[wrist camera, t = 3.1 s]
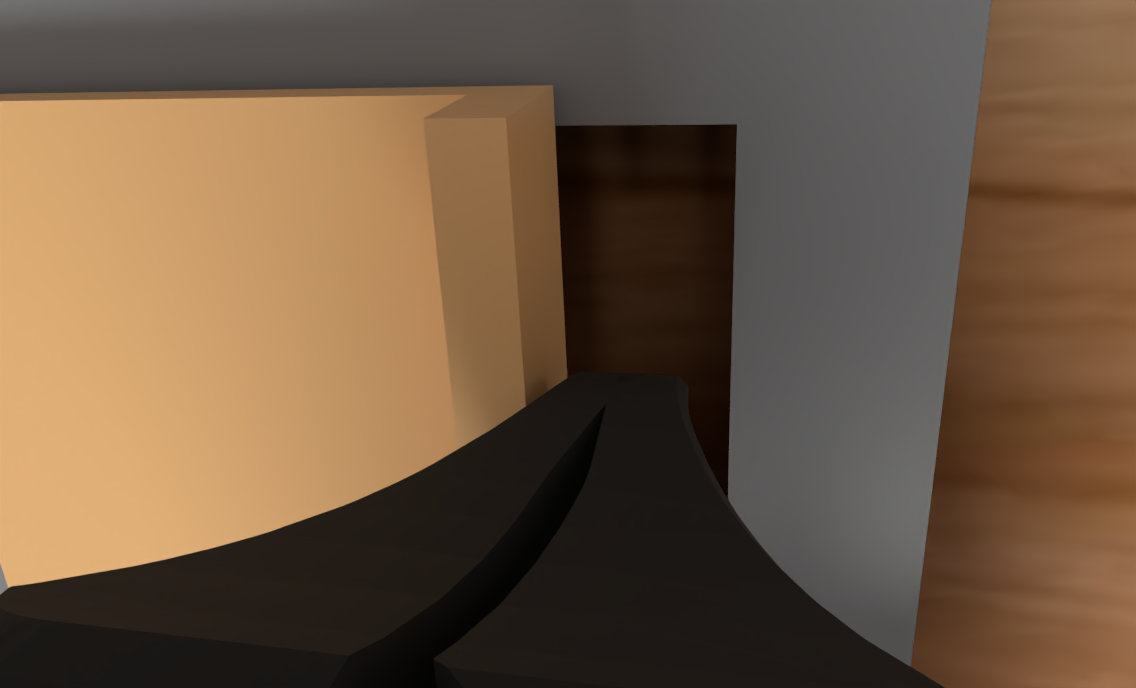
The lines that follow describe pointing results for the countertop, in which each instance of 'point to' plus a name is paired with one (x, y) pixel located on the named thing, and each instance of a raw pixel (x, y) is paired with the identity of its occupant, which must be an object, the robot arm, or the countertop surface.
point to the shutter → (259, 305)
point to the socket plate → (762, 204)
